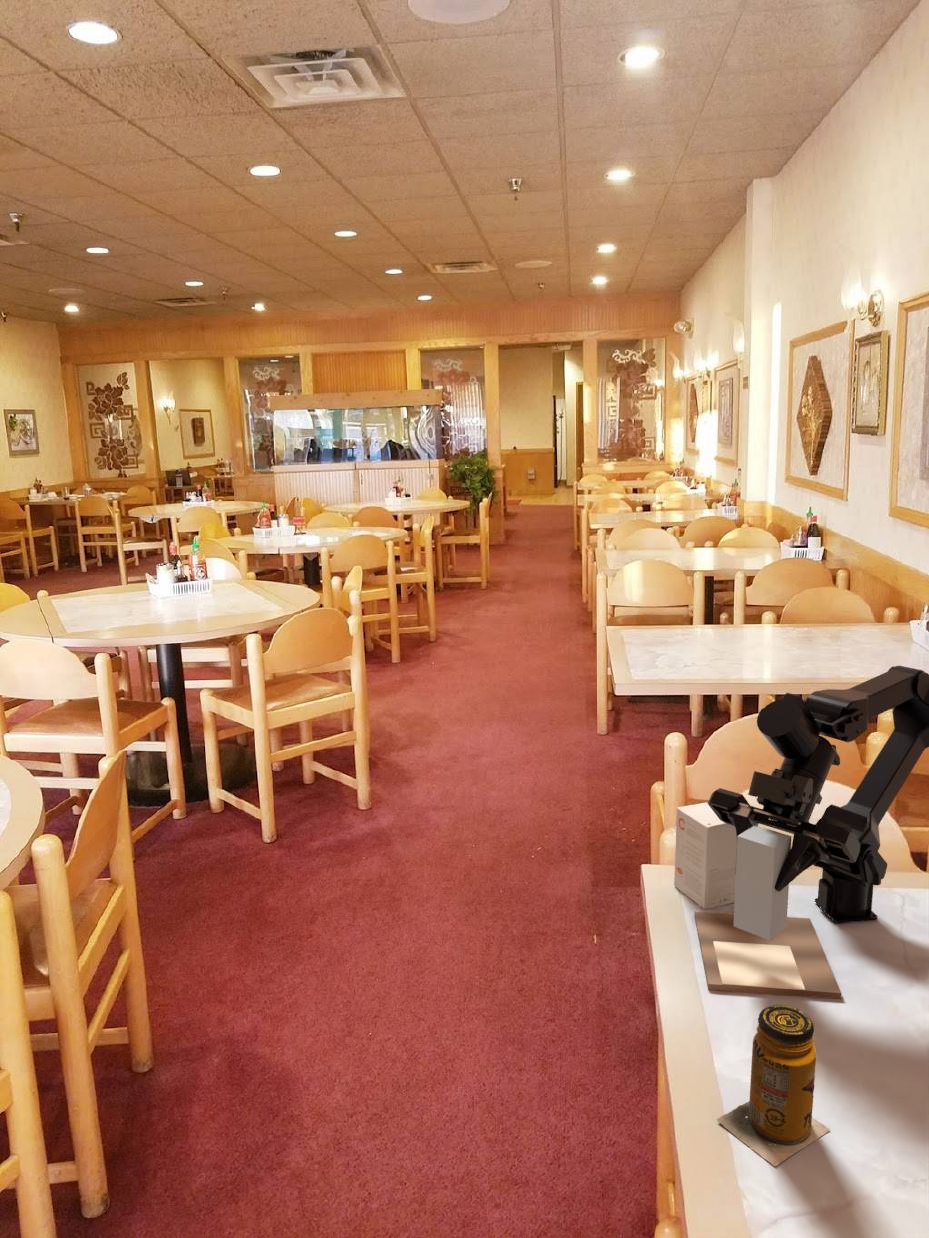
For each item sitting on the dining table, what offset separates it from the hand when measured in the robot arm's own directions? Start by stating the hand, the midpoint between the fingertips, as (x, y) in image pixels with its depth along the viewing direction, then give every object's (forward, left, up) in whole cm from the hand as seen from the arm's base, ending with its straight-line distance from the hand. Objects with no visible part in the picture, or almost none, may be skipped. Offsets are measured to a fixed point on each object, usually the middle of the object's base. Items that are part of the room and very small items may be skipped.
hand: (756, 882), depth 118 cm
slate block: (-1, -1, -7) cm, 7 cm away
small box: (-2, -21, -13) cm, 25 cm away
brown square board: (-3, -3, -13) cm, 14 cm away
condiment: (+9, +26, -13) cm, 30 cm away
